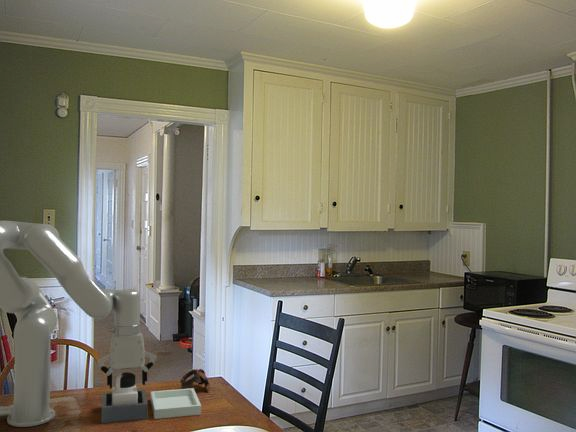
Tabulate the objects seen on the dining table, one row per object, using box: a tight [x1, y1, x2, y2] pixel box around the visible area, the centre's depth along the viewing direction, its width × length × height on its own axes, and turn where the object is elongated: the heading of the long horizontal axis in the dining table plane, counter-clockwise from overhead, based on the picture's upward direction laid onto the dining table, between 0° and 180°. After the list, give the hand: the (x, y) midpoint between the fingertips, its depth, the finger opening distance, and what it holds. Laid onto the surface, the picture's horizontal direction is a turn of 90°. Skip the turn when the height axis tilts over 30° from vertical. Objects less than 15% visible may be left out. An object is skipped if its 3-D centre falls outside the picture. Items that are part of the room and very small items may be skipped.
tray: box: [150, 387, 202, 420], centre depth 163 cm, size 14×16×3 cm
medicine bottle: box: [111, 371, 138, 406], centre depth 157 cm, size 7×7×12 cm
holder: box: [100, 389, 149, 424], centre depth 157 cm, size 13×13×4 cm
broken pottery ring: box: [179, 368, 211, 394], centre depth 180 cm, size 12×10×8 cm
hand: (127, 385), depth 158 cm, fingers open, 9 cm apart
